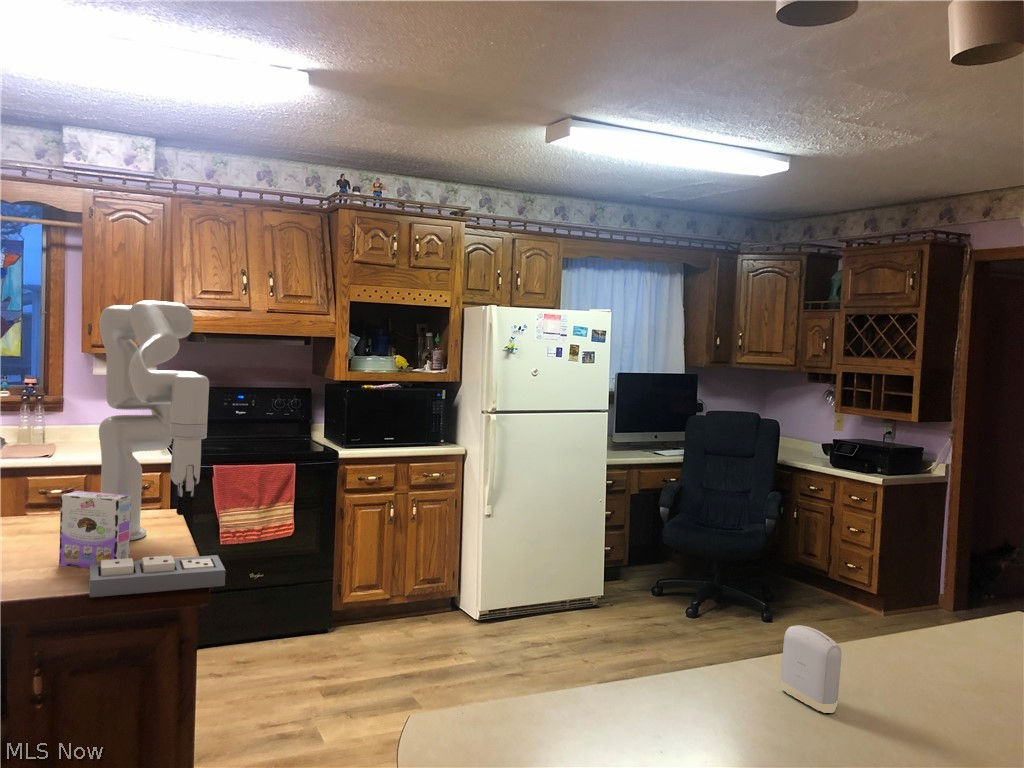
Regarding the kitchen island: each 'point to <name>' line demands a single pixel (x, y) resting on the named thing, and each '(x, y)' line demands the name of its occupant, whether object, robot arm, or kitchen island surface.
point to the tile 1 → (117, 566)
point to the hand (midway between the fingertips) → (184, 513)
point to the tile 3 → (196, 564)
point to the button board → (156, 578)
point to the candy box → (94, 528)
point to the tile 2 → (158, 564)
